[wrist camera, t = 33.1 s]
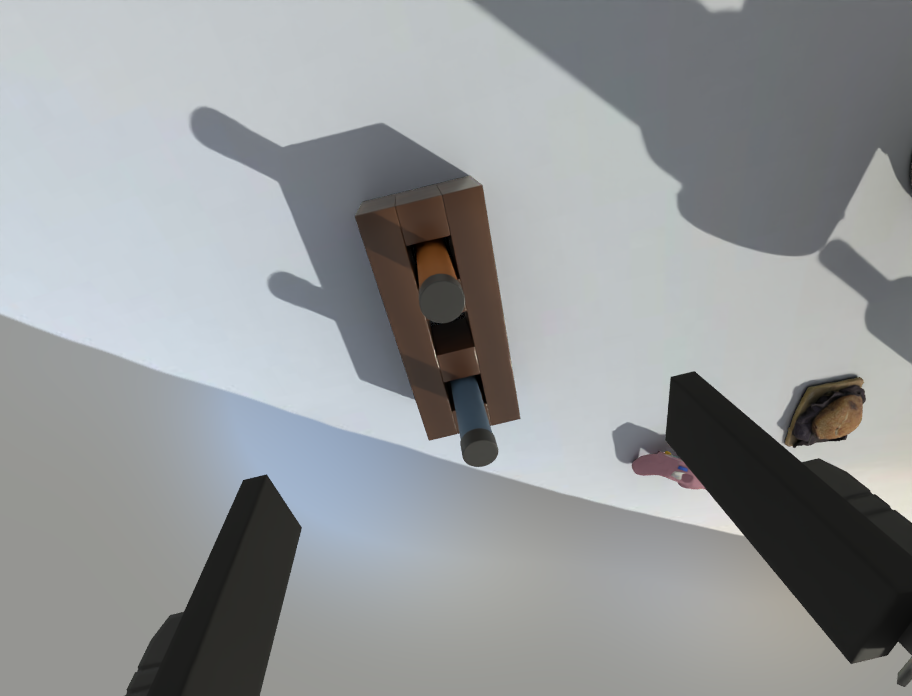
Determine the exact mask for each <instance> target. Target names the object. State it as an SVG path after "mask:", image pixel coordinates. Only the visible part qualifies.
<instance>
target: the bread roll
mask: <svg viewBox="0 0 912 696" xmlns="http://www.w3.org/2000/svg"><path fill="white" fill-rule="evenodd" d="M863 383H864V381H863V379H862V378H860V377H859V378H857V377H856V378H855V379H847V380H843V381H839V382H834V383H833V382H831V383H826V384H822V385H817V386H812V387H808V389H807V390H806V393H804V395H803V397H802V399H801V402H800V403H799V406H798V407H797V409H796V411H795V414H794V416H793V419H792V421H791V425H790V428H788V430H789V432H788V433H787V435H788V436H787V437H786V439H785V440H786V441H785V444H786V445H787V446H793V448H796V446H802V445H806V446H809V445H812V444H814V443H817V442H826V441H840V440H846V438H847V434H849V433H851V432H852V431H854V430H855V429H856V428H857V427H858V426H859V424H860V422H861V420H862V411H863V410H862V408H863V403H864V402H865V401H866V398H865V391H864V389H862V388H861V387H862V384H863ZM839 437H840V438H839Z"/></svg>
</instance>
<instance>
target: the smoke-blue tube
mask: <svg viewBox="0 0 912 696" xmlns="http://www.w3.org/2000/svg"><path fill="white" fill-rule="evenodd" d="M450 383H451V388H452V394H453V399H454V405H455V410H456V416H457V421H458V427H459V432H460V438H461V443H460V444H461V450H462V456H463V459H464V461H465V462H466V463H467V464H469V465H471V466H474V467H482V466H486V465H488V464H490V463H492V462H493V461H494V460H495V459H496V457H497V455H498V447H497V444H496V440H495V437H494V435H493V433H492V431H491V427H490V424H489V420H488V417H487V414H486V410H485V407H484V403H483V400H482V396H481V393H480V389H479V386H478V382H477V379H476V375H473V376H468V377H464V378H460V379H456V380H452V381H450Z"/></svg>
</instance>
